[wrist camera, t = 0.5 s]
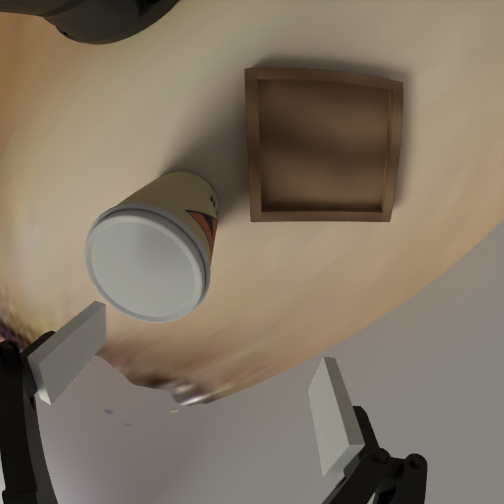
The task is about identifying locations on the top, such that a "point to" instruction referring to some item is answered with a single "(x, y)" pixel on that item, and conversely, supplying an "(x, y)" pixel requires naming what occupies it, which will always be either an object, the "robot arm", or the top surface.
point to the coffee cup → (156, 248)
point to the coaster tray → (322, 145)
